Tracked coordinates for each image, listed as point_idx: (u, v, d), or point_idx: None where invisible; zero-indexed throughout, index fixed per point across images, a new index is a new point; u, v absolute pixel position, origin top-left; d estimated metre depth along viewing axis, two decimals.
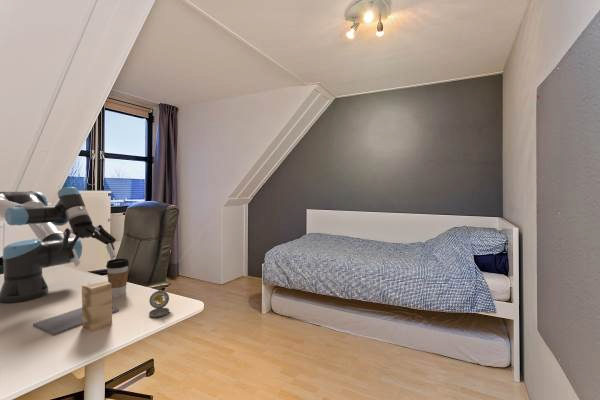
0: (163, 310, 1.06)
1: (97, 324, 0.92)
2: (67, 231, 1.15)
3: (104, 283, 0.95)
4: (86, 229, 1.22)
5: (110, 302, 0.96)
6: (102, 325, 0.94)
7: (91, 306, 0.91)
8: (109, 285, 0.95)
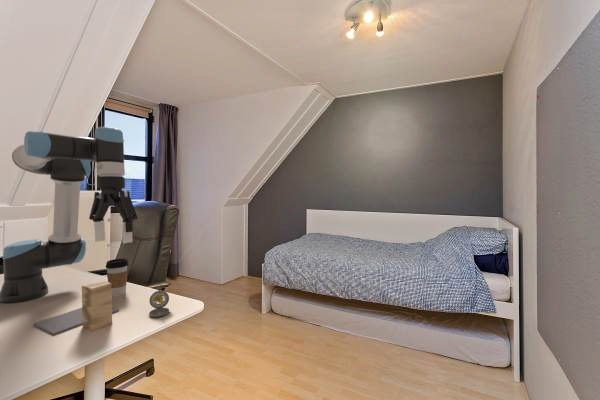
0: (163, 310, 1.06)
1: (97, 324, 0.92)
2: (95, 196, 0.93)
3: (104, 283, 0.95)
4: None
5: (110, 302, 0.96)
6: (102, 325, 0.94)
7: (91, 306, 0.91)
8: (109, 285, 0.95)
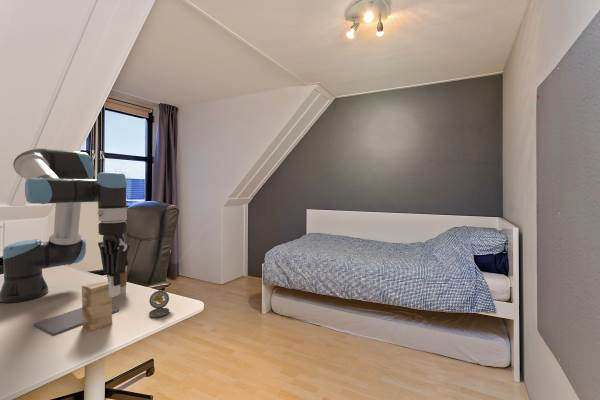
0: (163, 310, 1.06)
1: (97, 324, 0.92)
2: (99, 246, 0.91)
3: (104, 283, 0.95)
4: (110, 240, 0.88)
5: (110, 302, 0.96)
6: (102, 325, 0.94)
7: (91, 306, 0.91)
8: None
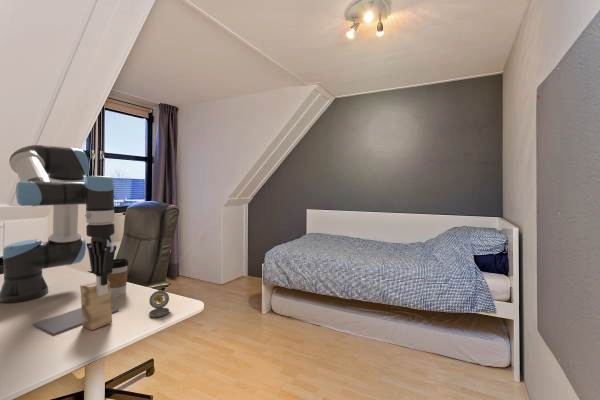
0: (163, 310, 1.06)
1: (97, 323, 0.92)
2: (88, 247, 0.94)
3: None
4: (98, 241, 0.91)
5: (109, 301, 0.96)
6: (102, 324, 0.94)
7: (90, 305, 0.91)
8: None
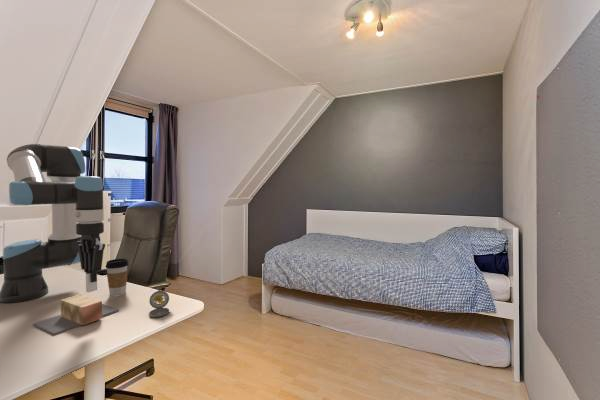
0: (163, 310, 1.06)
1: (84, 305, 0.95)
2: (78, 245, 0.97)
3: None
4: (87, 239, 0.94)
5: (88, 297, 1.02)
6: (91, 303, 0.96)
7: (69, 304, 0.97)
8: (79, 295, 1.04)
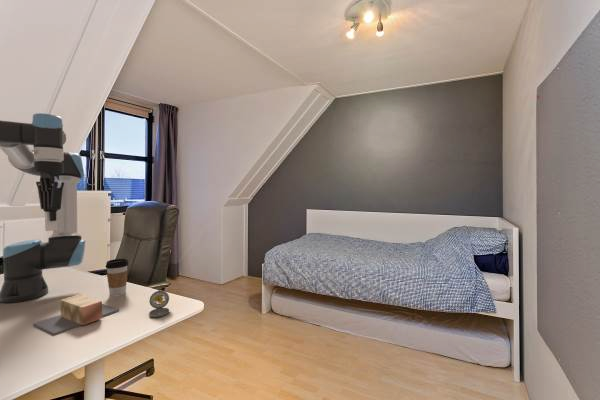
0: (163, 310, 1.06)
1: (84, 305, 0.95)
2: (37, 185, 0.97)
3: None
4: (46, 178, 0.94)
5: (88, 297, 1.02)
6: (91, 303, 0.96)
7: (69, 304, 0.97)
8: (79, 295, 1.04)
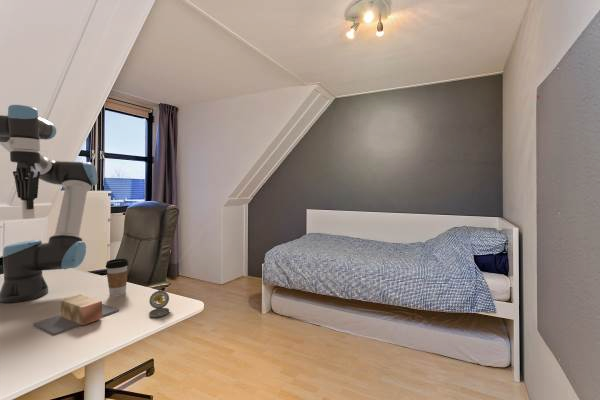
0: (163, 310, 1.06)
1: (84, 305, 0.95)
2: (14, 175, 1.00)
3: None
4: (22, 167, 0.98)
5: (88, 297, 1.02)
6: (91, 303, 0.96)
7: (69, 304, 0.97)
8: (79, 295, 1.04)
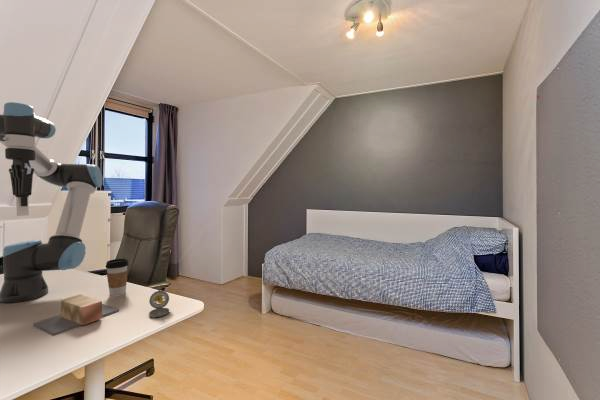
0: (163, 310, 1.06)
1: (84, 305, 0.95)
2: (10, 172, 1.01)
3: None
4: (17, 164, 0.98)
5: (88, 297, 1.02)
6: (91, 303, 0.96)
7: (69, 304, 0.97)
8: (79, 295, 1.04)
